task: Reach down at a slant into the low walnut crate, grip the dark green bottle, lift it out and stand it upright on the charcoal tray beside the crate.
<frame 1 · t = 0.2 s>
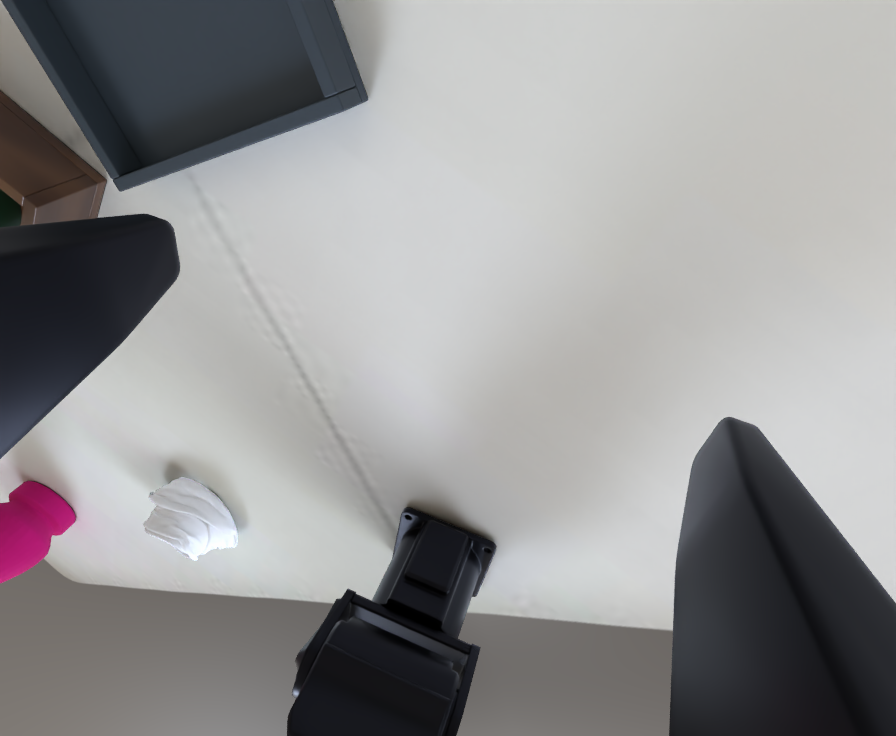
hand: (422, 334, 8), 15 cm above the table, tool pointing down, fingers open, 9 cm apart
pepper mill: (52, 500, 57), on the table
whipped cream: (206, 505, 46), on the table
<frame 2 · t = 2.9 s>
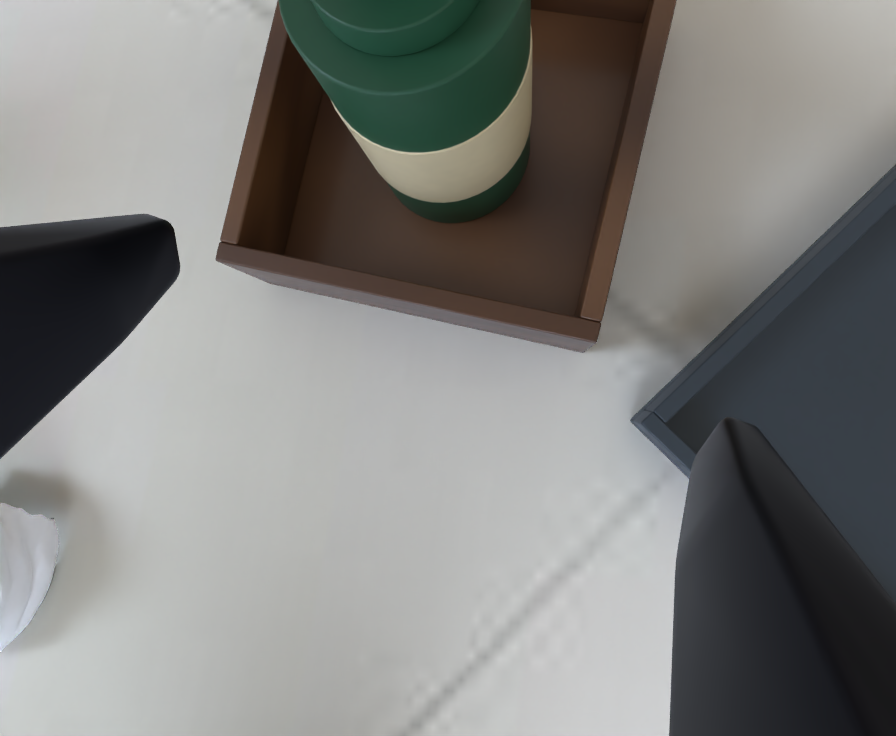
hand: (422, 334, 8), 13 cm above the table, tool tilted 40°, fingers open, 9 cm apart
crate: (456, 156, 22), on the table
bottle: (454, 150, 22), point 1 cm above the table, touching crate
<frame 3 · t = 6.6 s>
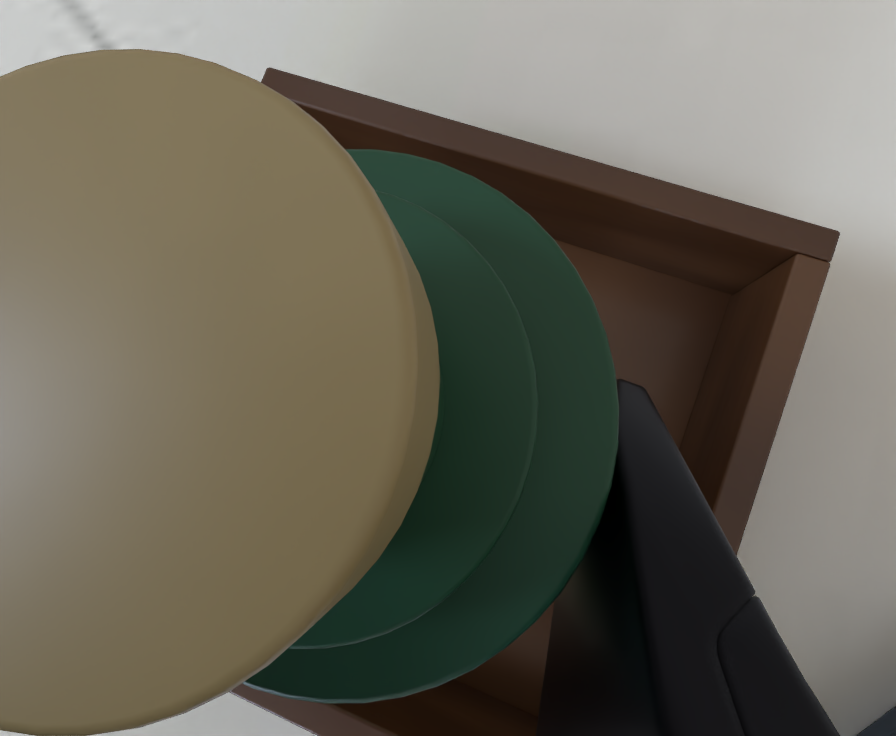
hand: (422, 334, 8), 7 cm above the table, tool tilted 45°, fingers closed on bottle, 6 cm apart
crate: (446, 427, 16), on the table
bottle: (443, 426, 15), point 1 cm above the table, touching crate, gripper
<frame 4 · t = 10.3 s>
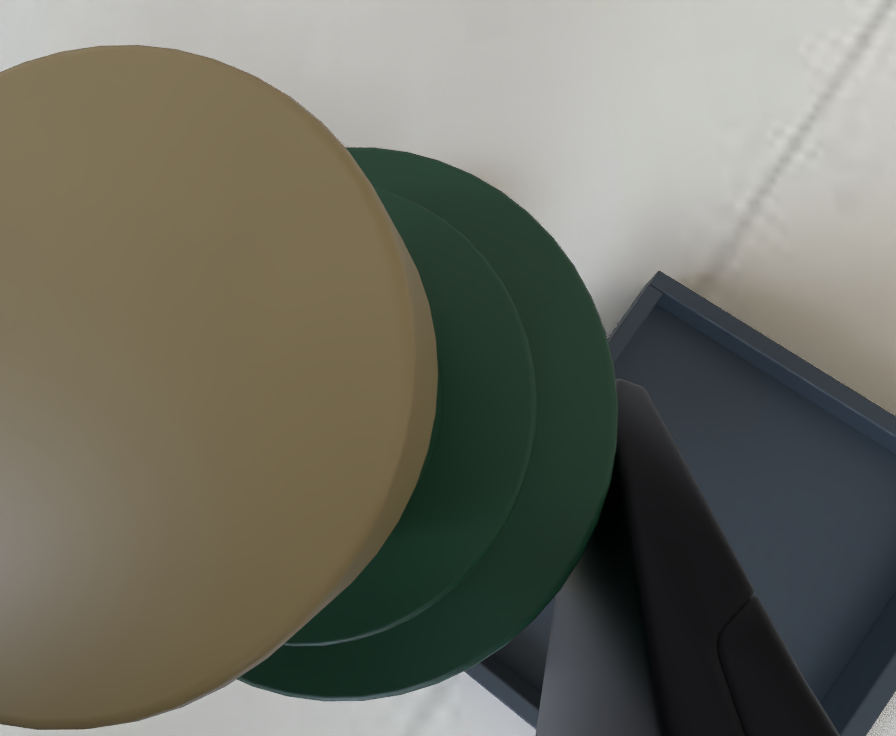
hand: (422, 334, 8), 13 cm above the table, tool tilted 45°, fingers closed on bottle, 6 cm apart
tray: (683, 551, 20), on the table
bottle: (443, 426, 15), point 6 cm above the table, touching gripper
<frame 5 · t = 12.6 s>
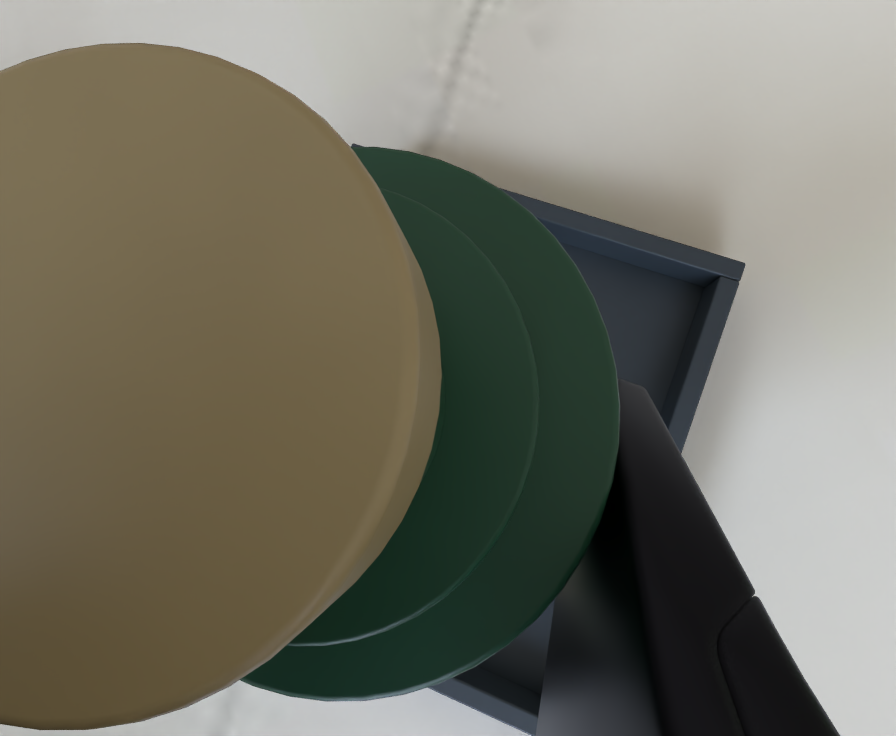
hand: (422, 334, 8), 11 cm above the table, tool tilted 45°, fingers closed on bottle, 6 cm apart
tray: (461, 423, 19), on the table
bottle: (444, 425, 15), point 4 cm above the table, touching gripper
when the fingers open (8 cm above the table, at t = 14.1 s): bottle stays where it is, resting on tray.
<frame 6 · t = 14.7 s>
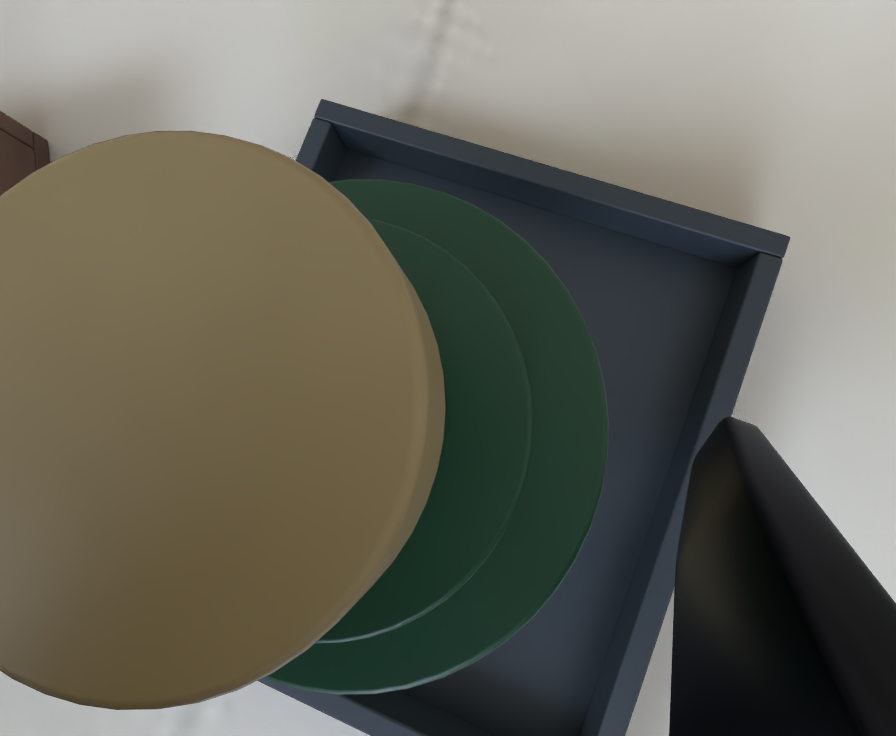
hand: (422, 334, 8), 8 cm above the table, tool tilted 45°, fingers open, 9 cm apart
tray: (449, 429, 16), on the table
bottle: (445, 431, 16), point 1 cm above the table, touching tray
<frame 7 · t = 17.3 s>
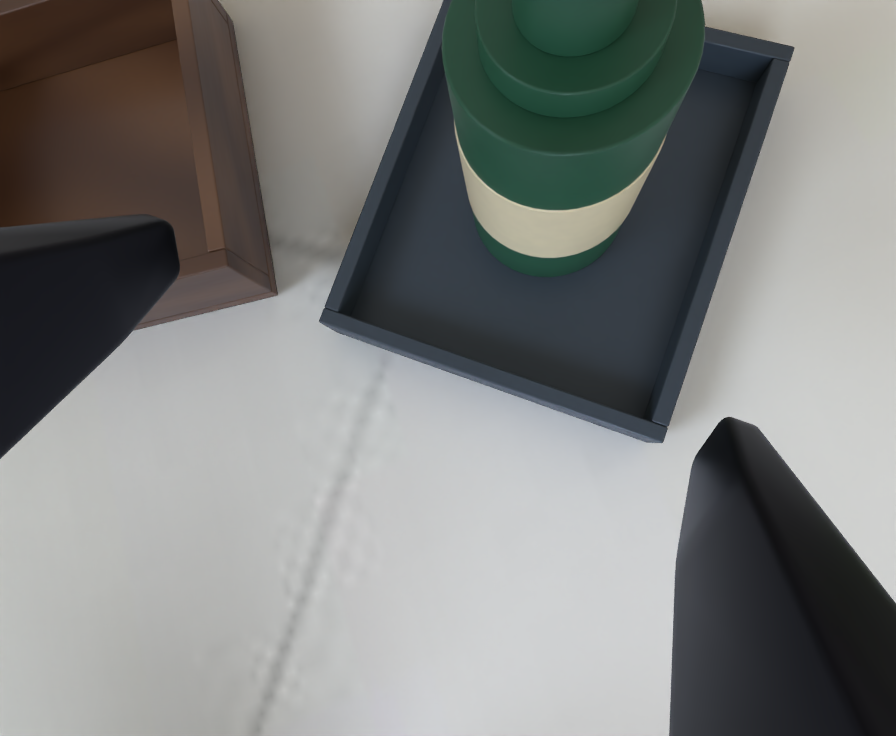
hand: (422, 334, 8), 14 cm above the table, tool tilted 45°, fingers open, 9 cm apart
crate: (117, 190, 25), on the table
tray: (547, 210, 22), on the table
bottle: (547, 205, 22), point 1 cm above the table, touching tray
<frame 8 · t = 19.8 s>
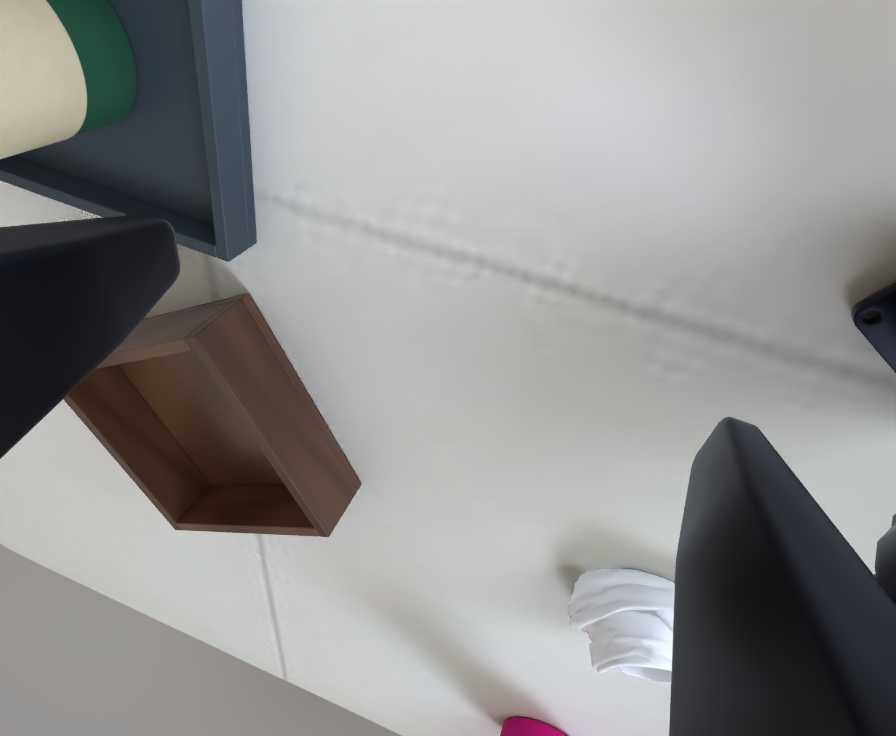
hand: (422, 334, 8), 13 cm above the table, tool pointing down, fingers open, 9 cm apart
crate: (228, 407, 34), on the table
tray: (85, 42, 22), on the table
pepper mill: (539, 734, 46), on the table
bottle: (75, 45, 22), point 1 cm above the table, touching tray
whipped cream: (645, 599, 31), on the table
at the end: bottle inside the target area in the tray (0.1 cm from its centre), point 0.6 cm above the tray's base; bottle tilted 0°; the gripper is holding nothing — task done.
